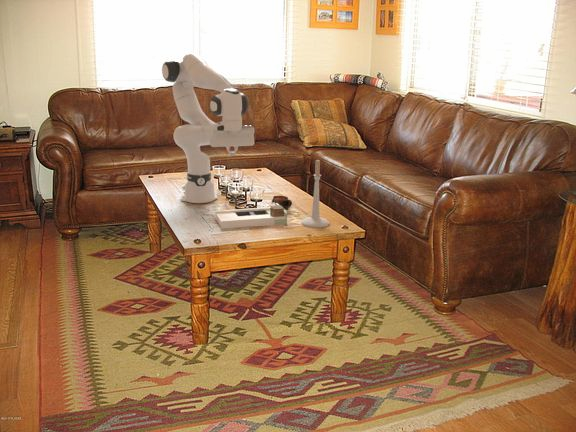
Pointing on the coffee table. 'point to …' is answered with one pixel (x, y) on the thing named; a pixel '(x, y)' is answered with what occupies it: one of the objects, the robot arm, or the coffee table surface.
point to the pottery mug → (282, 201)
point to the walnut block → (276, 211)
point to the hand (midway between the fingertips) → (232, 156)
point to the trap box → (248, 218)
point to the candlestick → (315, 204)
